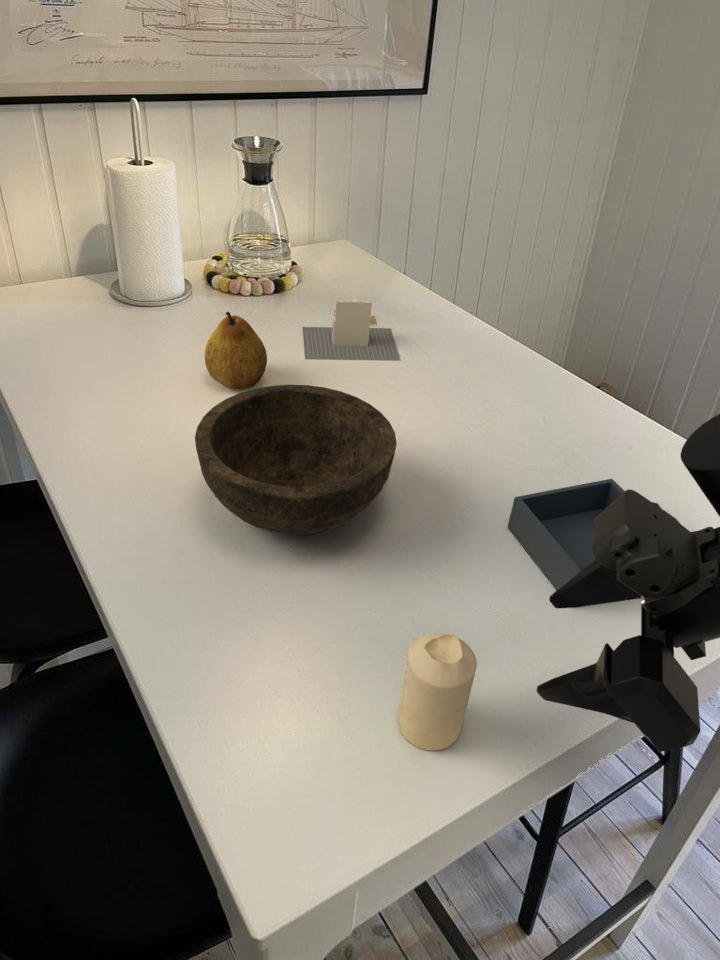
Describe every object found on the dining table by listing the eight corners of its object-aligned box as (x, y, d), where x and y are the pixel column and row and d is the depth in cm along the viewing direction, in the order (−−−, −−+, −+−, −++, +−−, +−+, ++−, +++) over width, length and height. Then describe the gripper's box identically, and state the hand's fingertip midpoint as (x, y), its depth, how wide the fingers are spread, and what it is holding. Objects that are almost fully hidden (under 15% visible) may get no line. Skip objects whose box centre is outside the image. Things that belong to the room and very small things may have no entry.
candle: (426, 686, 68) (440, 610, 62) (473, 725, 65) (493, 649, 59) (384, 721, 65) (395, 644, 59) (432, 764, 62) (449, 687, 56)
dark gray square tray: (673, 581, 82) (686, 551, 79) (569, 607, 77) (580, 576, 75) (602, 507, 91) (612, 478, 89) (507, 527, 87) (514, 496, 84)
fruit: (243, 360, 115) (241, 286, 108) (279, 385, 109) (279, 308, 102) (194, 376, 110) (188, 299, 103) (229, 403, 105) (225, 323, 97)
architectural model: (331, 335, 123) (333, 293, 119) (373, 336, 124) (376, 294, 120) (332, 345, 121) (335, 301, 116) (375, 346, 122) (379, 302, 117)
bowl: (427, 517, 88) (438, 446, 82) (276, 601, 75) (276, 525, 69) (309, 433, 100) (311, 366, 94) (164, 494, 88) (156, 422, 82)
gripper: (689, 407, 52) (502, 495, 61) (708, 587, 38) (458, 669, 46) (765, 521, 55) (577, 589, 64) (809, 728, 41) (558, 779, 50)
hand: (546, 645), depth 56 cm, fingers open, 9 cm apart
